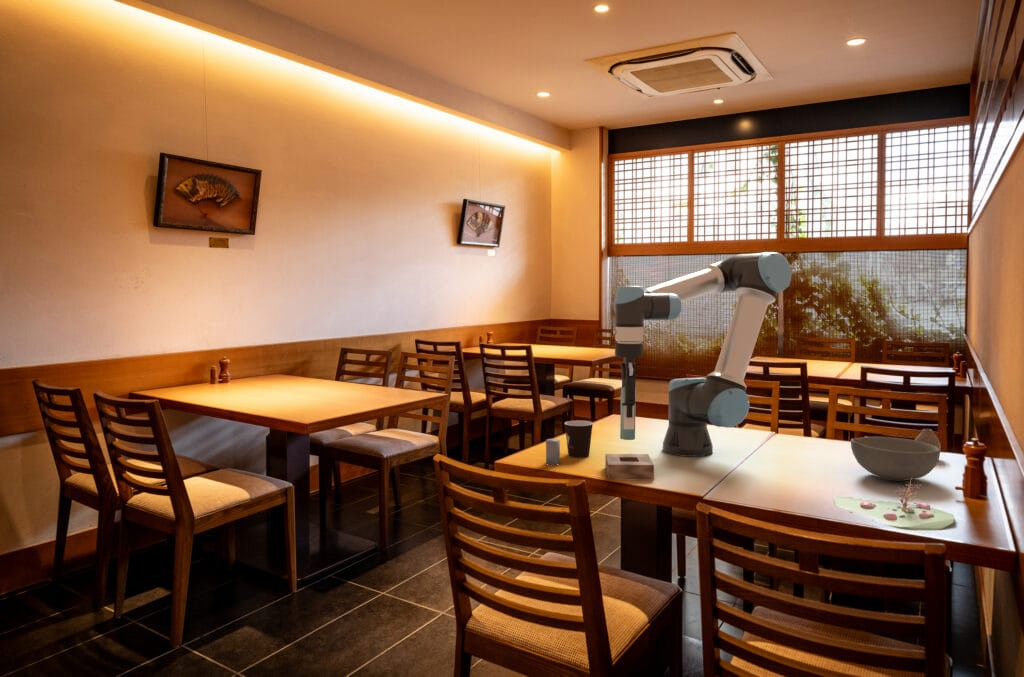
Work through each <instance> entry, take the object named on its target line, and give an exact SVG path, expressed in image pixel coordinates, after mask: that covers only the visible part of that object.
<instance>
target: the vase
mask: <svg viewBox="0 0 1024 677" xmlns="http://www.w3.org/2000/svg"><path fill="white" fill-rule="evenodd" d="M933 431H934V430H932V429H930V428H923V429H922V430H921V432H920V433H919V434H918V435H917V436H916V437H915V438H914V440H915V441H920V442H924V443H927V444H930V445H933V446H936V447H938V448H939V450H940V452H941V449H942V447H941V442H940V439H939V438H938V436H937V435H936V434H935V432H933Z"/></svg>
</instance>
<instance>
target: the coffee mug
mask: <svg viewBox="0 0 1024 677" xmlns="http://www.w3.org/2000/svg"><path fill="white" fill-rule="evenodd" d="M593 425H594V424H593V421H589V420H569V421H565V422H564V429H565V430H564V431H565V439H566V448H567V456H568V457H571V458H576V459H583V458H587V457H589V456H590V453H591V452H590V450H591V442H592V434H593Z"/></svg>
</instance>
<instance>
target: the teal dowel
mask: <svg viewBox="0 0 1024 677" xmlns="http://www.w3.org/2000/svg"><path fill="white" fill-rule="evenodd" d="M636 390H637V389H636V387H635V401H636V398H637V397H636V396H637V393H636ZM624 402H625V387H622V386H621V387H620V425H619V426H620V428H619V429H620V430H619V431H620V432H619V433H620V436H619V438H620V439H621V440H624V441H625V440H626V441H632V440H635V439H636V403H635V404H634V429H624V406H622V403H624Z"/></svg>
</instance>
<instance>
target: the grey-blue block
mask: <svg viewBox="0 0 1024 677" xmlns="http://www.w3.org/2000/svg"><path fill="white" fill-rule="evenodd" d="M560 442H561V440H560V439H558V438H547V439H546V440H545V465H547V464H548V465H547V466H551V465H556V466H558V465H557V464H559V465H560V464H561V457H560V456H561V455H560V454H561V450H560V449H561V446H560V444H561V443H560Z"/></svg>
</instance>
